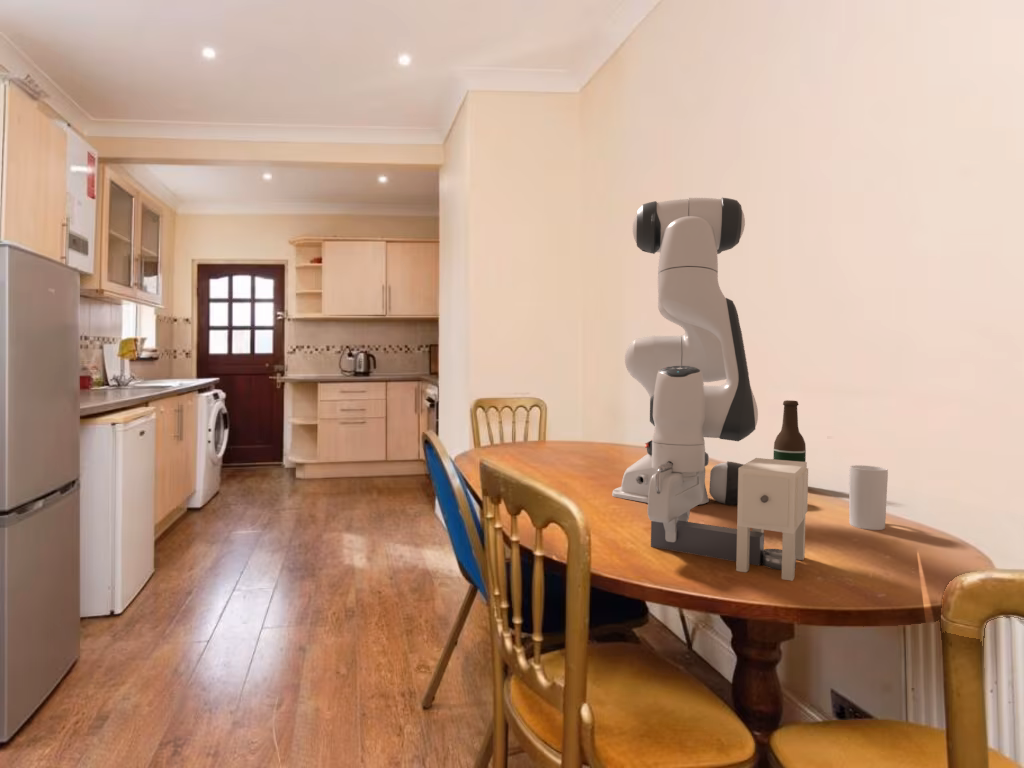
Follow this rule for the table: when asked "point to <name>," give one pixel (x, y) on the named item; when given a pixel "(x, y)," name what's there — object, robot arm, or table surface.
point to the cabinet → (772, 508)
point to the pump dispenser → (725, 483)
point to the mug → (867, 497)
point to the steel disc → (773, 558)
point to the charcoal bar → (707, 541)
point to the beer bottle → (790, 436)
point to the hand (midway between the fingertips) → (676, 537)
